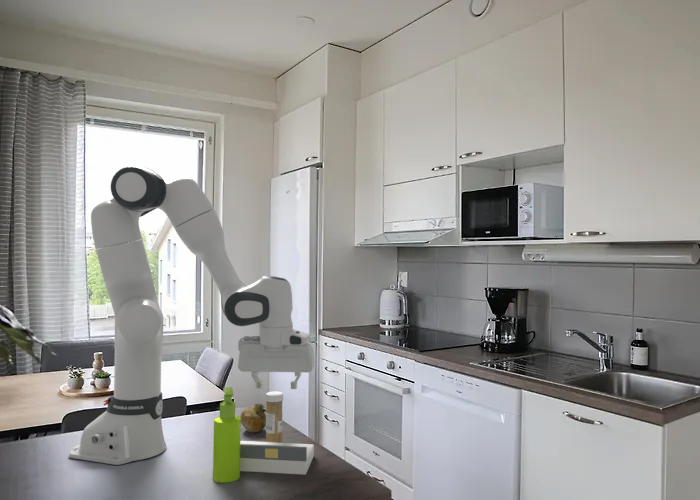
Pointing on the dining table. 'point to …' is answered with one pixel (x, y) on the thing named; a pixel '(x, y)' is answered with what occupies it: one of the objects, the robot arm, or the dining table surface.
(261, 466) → the white slab
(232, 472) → the soap dispenser
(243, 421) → the onion
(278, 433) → the sprinkles bottle
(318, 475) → the dining table surface
